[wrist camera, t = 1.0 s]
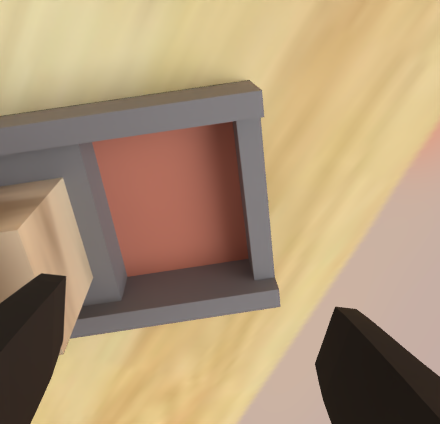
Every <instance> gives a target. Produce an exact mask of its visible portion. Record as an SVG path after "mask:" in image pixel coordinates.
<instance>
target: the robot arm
mask: <svg viewBox="0 0 440 424" xmlns="http://www.w3.org/2000/svg"><path fill="white" fill-rule="evenodd" d="M65 294H66V276H62V275H53V274H44V273H41V274H39V275H38V276H37V277H35V278H34V279H32V280H31V281H30V282H28V283H27V284H25V285H24V286H23V287H21V288H20V289H19V290H17V291H16V292H15V293H13V294H12V295H11V296H9V297H8V298H6V299H5V300H4V301H2V302H1V303H0V424H30V423H31V421H32V419H33V417H34V415H35V412H36V410H37V408H38V406H39V404H40V402H41V399H42V397H43V395H44V393H45V391H46V388H47V386H48V384H49V382H50V379H51V377H52V374H53V371H54V368H55V365H56V362H57V359H58V356H59V353H60V349H61V346H62V343H63V337H64V316H65ZM315 366H316V370H317V375H318V380H319V385H320V389H321V393H322V397H323V401H324V404H325V407H326V409H327V412H328V415H329V418H330V420H331V423H332V424H440V377H439V376H438V375H437V374H436V373H434V372H433V371H432V370H431V369H429V368H428V367H427V366H426V365H424V364H423V363H422V362H420V361H419V360H418V359H417V358H416V357H414V356H413V355H412V354H411V353H410V352H408V351H407V350H406V349H405V348H403V347H402V346H401V345H400V344H399V343H398V342H396V341H395V340H394V339H393V338H392V337H390V336H389V335H388V334H387V333H386V332H385V331H383V330H382V329H381V328H380V327H379V326H377V325H376V324H375V323H374V322H372V321H371V320H370V319H369V318H367V317H366V316H365V315H364V314H362V313H361V312H359V311H358V310H357V309H350V308H342V307H335V309H334V312H333V314H332V317H331V321H330V323H329V326H328V329H327V331H326V335H325V337H324V340H323V343H322V345H321V349H320V351H319V354H318V357H317V360H316V362H315Z"/></svg>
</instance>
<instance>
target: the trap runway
mask: <svg viewBox="0 0 440 424" xmlns="http://www.w3.org/2000/svg"><path fill="white" fill-rule="evenodd" d="M260 117H264V109H263V98H262V90H261V89H260V88H258V87H257V86H256V85H255V84H253V83H252V82H251V81H250V80H247V81H240V82H233V83H227V84H220V85H213V86H206V87H199V88H192V89H185V90H178V91H171V92H164V93H157V94H150V95H144V96H137V97H130V98H123V99H116V100H109V101H102V102H95V103H88V104H81V105H74V106H67V107H61V108H54V109H47V110H40V111H33V112H26V113H19V114H12V115H5V116H0V187H1V186H7V185H14V184H21V183H28V182H35V181H41V180H48V179H55V178H62V177H63V180H64V183H65V186H66V190H67V193H68V196H69V200H70V203H71V206H72V209H73V213H74V216H75V219H76V223H77V226H78V229H79V233H80V236H81V239H82V242H83V246H84V249H85V252H86V256H87V259H88V262H89V265H90V269H91V272H92V275H93V279H92V282H91V284H90V287H89V290H88V292H87V295H86V297H85V300H84V303H83V305H82V308H81V310H80V313H79V315H78V318H77V321H76V323H75V326H74V328H73V331H72V334H71V336H70V339H71V338H77V337H84V336H90V335H97V334H104V333H110V332H117V331H123V330H130V329H137V328H143V327H150V326H156V325H163V324H170V323H176V322H183V321H189V320H196V319H203V318H209V317H216V316H222V315H229V314H236V313H242V312H249V311H255V310H262V309H269V308H275V307H280V296H279V288H278V285H277V282H276V280H275V275H274V264H273V252H272V241H271V230H270V219H269V208H268V196H267V185H266V174H265V163H264V152H263V140H262V129H261V118H260Z"/></svg>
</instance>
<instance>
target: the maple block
mask: <svg viewBox="0 0 440 424" xmlns="http://www.w3.org/2000/svg"><path fill="white" fill-rule="evenodd" d="M41 273H44V274H53V275H62V276H66V294H65V316H64V337H63V343H62V346H61V349H60V353H59V355H61V354H64V352H65V349H66V346H67V344H68V341H69V339H70V336H71V334H72V331H73V328H74V326H75V323H76V321H77V318H78V315H79V313H80V310H81V308H82V305H83V303H84V300H85V297H86V295H87V292H88V290H89V287H90V284H91V282H92V279H93V275H92V272H91V269H90V265H89V262H88V259H87V256H86V252H85V249H84V246H83V242H82V239H81V236H80V233H79V229H78V226H77V223H76V219H75V216H74V213H73V209H72V206H71V203H70V200H69V196H68V193H67V190H66V186H65V183H64V180H63V177H62V178H55V179H48V180H41V181H35V182H28V183H21V184H14V185H7V186H1V187H0V303H1V302H2V301H4V300H5V299H6V298H8V297H9V296H11V295H12V294H13V293H15V292H16V291H17V290H19V289H20V288H21V287H23V286H24V285H25V284H27V283H28V282H30V281H31V280H32V279H34V278H35V277H37V276H38V275H39V274H41Z"/></svg>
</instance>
